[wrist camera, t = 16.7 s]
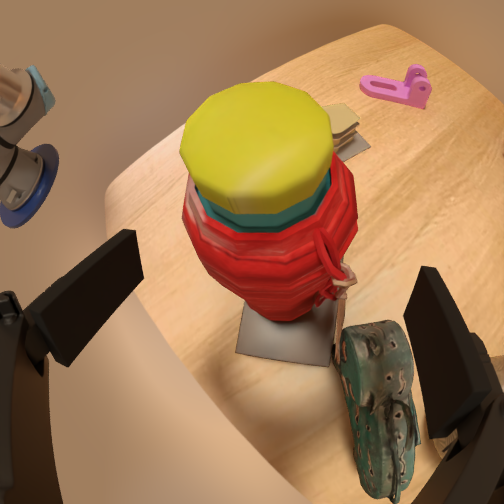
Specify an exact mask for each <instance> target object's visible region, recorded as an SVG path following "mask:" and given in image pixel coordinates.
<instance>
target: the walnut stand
mask: <svg viewBox="0 0 504 504" xmlns="http://www.w3.org/2000/svg"><path fill="white" fill-rule="evenodd" d="M343 257H344V255H343ZM343 257H342V259H341V261H340V263H343ZM329 279H330V278H329ZM337 289H338V290H339V288H338V287H337ZM332 294H333V293H332ZM323 297H324V296H323ZM323 297H322V298H323ZM322 298H321V299H322ZM321 299H320V300H321ZM334 303H335V304H334ZM332 310H333V311H332ZM337 311H338V299H337V300H336V301H333V300H330V299H326V300H325V301H324V302H323V303H322V304H321V305H320V306H319V307H318V308H317V307H316V306H315V303H314V305H313V307H312V308H311V310H310V311H308V312H307V313H305V314H303V315H301V316H299V317H297V318H296V319H294V320H292V321H273V320H269V319H267V318H266V317H264V316H262V315H261V314H259V313H257V312H256V311H254V310H253V309H251V308H250V307H249V306H248V304H247V302H246V301H245V302H244V307H243V313H242V318H241V324H240V329H239V335H238V340H237V346H236V351H235V353H238V354H244V355H249V356H255V357H260V358H266V359H273V360H279V361H285V362H292V363H300V364H307V365H315V366H324V367H329V365H330V359H331V353H332V347H333V340H334V334H335V327H336V320H337ZM331 313H332V314H331ZM330 316H331V317H330ZM329 319H330V320H329ZM328 322H329V323H328ZM327 325H328V326H327ZM321 343H322V344H321ZM320 346H321V347H320Z"/></svg>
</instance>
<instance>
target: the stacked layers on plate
mask: <svg viewBox="0 0 504 504" xmlns="http://www.w3.org/2000/svg"><path fill="white" fill-rule="evenodd" d="M322 108H323V109H324V110H325V111H326V112H327V113H328V115H329V117H330V122H331V129H332V137H333V145H334V149H333V151H334V152H335V153H336V155H337V156H338V157H339V158H340V159H341V161H342V162H343V161H345V160H347V159H349V158H351V157H353V156H354V155H356V154H358V153H360V152H362V151H364V150H366V149H367V148H369V147H371V146H370V145H369V144H368V143H367V142H366V141H365V140H364V139H363V137H362V136H361V135H360V134H359V133H358V132H357V131H356V130H355V128H356V127H358V126H359V123H358V122H357V121H358V120H360V119H361V118H360V117H359V116H358V115H357V114H356V113H355V112H354V111H353V110H351V109H350V108H349V107H348V106H347V105H346V104H345V103H340V104H334V105H328V106H322Z"/></svg>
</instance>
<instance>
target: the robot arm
mask: <svg viewBox="0 0 504 504" xmlns="http://www.w3.org/2000/svg"><path fill="white" fill-rule="evenodd" d="M54 104H55V98H54V96H53V94H52V93H51V91H50V89H49V88H48V86H47V85H46V83H45V81H44V80H43V78H42V76H41V75H40V73H39V72H38V70H37V68H36V67H35V66H34V65H32V66H30V67H29V68H27V69H26V70H23V69H12V70H9V69H7V68H6V67H5V66H3V65H2V64H0V200H1V202H2V203H3V204H4V206H5V207H6V208H7V209H9V210H11V211H18V210H20V209H22V208H23V207H24V206H25V205H26V204H27V203H28V202H29V201H30V199H31V198H32V197H33V195H34V194H35V192H36V190H37V189H38V187H39V185H40V182H41V180H42V177H43V174H44V169H45V162H44V159H43V158H42V157H41V156H40V155H39V154H37V153H34V152H31V151H28V150H24V149H21V148H19V147H18V146H16V144H17V143H18V142H19V141H20V140H21V138H23V137H24V135H25V134H26V133H27V132H28V131H29V130H30V129H31V128H32V127H33V126H34V125H35V124H36V123H37V122H38V121H39V120H40V119H41V118H42V117H43V116H45V115H46V114H47V112H48V111H49V110H50V109H51V108H52V107H53V106H54ZM143 279H144V275H143V270H142V265H141V259H140V254H139V248H138V242H137V236H136V230H129V229H123V230H121V231H120V232H119V233H117V234H116V235H115V236H113V237H112V238H111V239H109V240H108V241H107V242H105V243H104V244H103V245H101V246H100V247H99V248H98V249H96V250H95V251H94V252H93V253H91V254H90V255H89V256H88V257H86V258H85V259H84V260H83V261H81V262H80V263H79V264H78V265H76V266H75V267H74V268H73V269H72V270H70V271H69V272H68V273H67V274H66V275H65V276H63V277H61V278H59V279H58V280H57V281H55V282H54V283H53V284H52V285H51V287H48V288H47V289H46V290H45V292H43V293H42V294H41V295H40V296H38V298H36V299H35V300H34V301H33V302H32V303H31V304H30V305H29V306H27V307H26V308H25V309H24V310H22V308H21V306H20V304H19V302H18V299H17V297H16V295H15V293H14V292H13V291H4V292H2V293H0V504H63V501H62V496H61V492H60V487H59V482H58V477H57V472H56V466H55V460H54V453H53V445H52V436H51V425H50V413H49V412H50V411H49V360H48V358H47V356H46V355H47V354H48V353H49V352H51V354H52V356H53V357H54V359H55V361H56V362H58V363H60V364H62V365H64V366H66V367H69V366H70V365H71V363H72V362H73V361H74V360H75V358H76V357H77V356H78V355H79V353H80V352H81V351H82V350H83V349H84V347H85V346H86V345H87V344H88V342H89V341H90V340H91V339H92V338H93V336H94V335H95V334H96V333H97V332H98V330H99V329H100V328H101V327H102V326H103V324H104V323H105V322H106V321H107V320H108V319H109V317H110V316H111V315H112V314H113V313H114V312H115V310H116V309H117V308H118V307H119V306H120V305H121V304H122V302H123V301H124V300H125V299H126V298H127V297H128V296H129V295H130V293H131V292H132V291H133V290H134V289H135V288H136V287H137V286H138V284H139V283H140V282H141V281H142V280H143ZM403 317H404V320H405V324H406V327H407V331H408V335H409V338H410V342H411V346H412V350H413V354H414V358H415V363H416V367H417V371H418V376H419V381H420V386H421V391H422V396H423V402H424V407H425V413H426V420H427V426H428V434H429V439H437V438H446V437H448V436H449V435H450V434H451V433H452V432H453V431H454V430H455V429H457V434H458V437H456V438H455V439H454V440H453V441H452V442H451V443H450V444H449V445H447V446H446V447H445V448H444V449H443V450H442V452H443V453H444V452H445V451H446V450H448V451H447V453H446V454H445V456H444V458H443V459H442V461H441V462H440V464H439V465H438V467H437V469H436V470H435V472H434V473H433V475H432V476H431V477H430V479H429V480H428V482H427V483H426V485H425V486H424V487H423V489H422V490H421V491H420V493H419V494H418V495H417V497H416V498H415V499H414V501H413V502H412V503H411V504H504V392H503V390H502V387H501V384H500V382H499V379H498V376H497V374H496V371H495V369H494V366H493V364H492V363H491V359H490V357H489V354H487V353H488V352H487V350H486V348H485V345H484V343H483V341H482V340H481V339H480V338H479V337H478V336H477V335H476V333H470V332H469V330H468V328H467V326H466V324H465V321H464V319H463V317H462V315H461V313H460V311H459V309H458V307H457V305H456V303H455V301H454V300H453V298H452V296H451V294H450V292H449V290H448V288H447V287H446V285H445V283H444V281H443V279H442V278H441V276H440V274H439V272H438V271H437V269H436V268H434V267H427V266H421V268H420V271H419V274H418V277H417V280H416V283H415V286H414V289H413V291H412V294H411V297H410V299H409V302H408V304H407V307H406V310H405V312H404V315H403Z"/></svg>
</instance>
